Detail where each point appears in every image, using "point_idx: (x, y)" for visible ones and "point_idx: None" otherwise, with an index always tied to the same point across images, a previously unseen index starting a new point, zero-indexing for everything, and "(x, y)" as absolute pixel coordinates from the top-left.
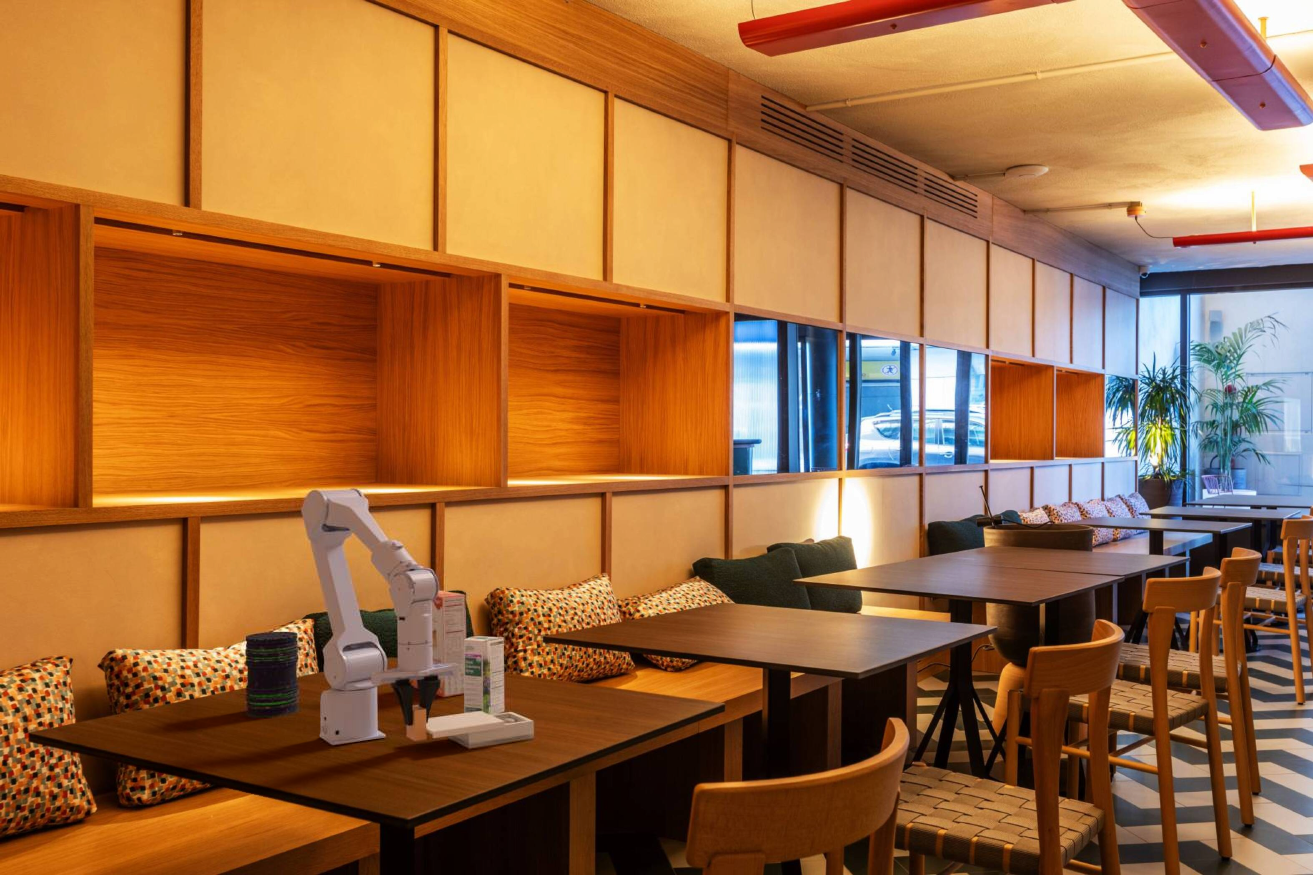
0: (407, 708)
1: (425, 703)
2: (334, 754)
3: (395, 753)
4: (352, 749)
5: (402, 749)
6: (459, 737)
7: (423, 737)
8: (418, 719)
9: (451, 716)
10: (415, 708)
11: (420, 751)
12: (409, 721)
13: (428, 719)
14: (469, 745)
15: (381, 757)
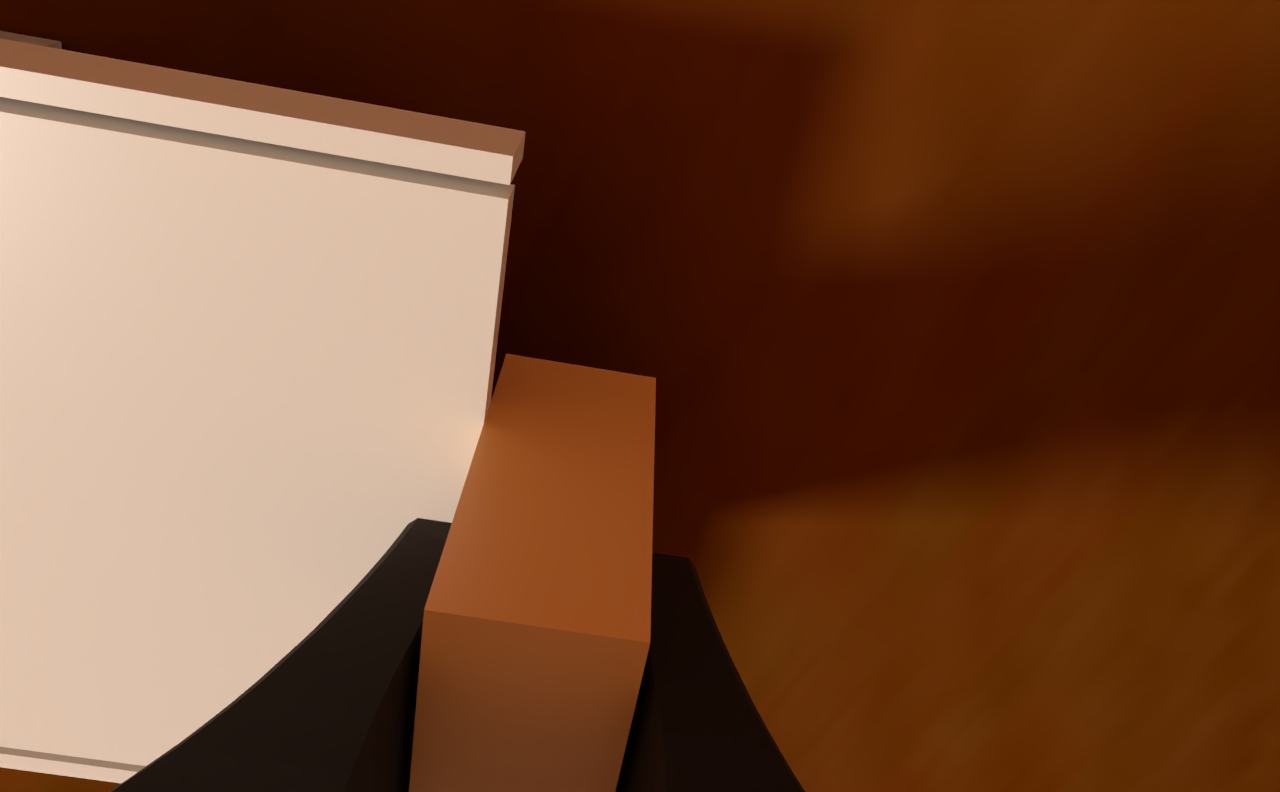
0: (757, 731)
1: (378, 731)
2: (1161, 751)
3: (801, 446)
4: (961, 779)
5: (666, 522)
6: None
7: (543, 370)
8: (587, 527)
9: None
10: (544, 752)
11: (575, 340)
12: (693, 587)
13: None
14: (35, 44)
15: (990, 413)
